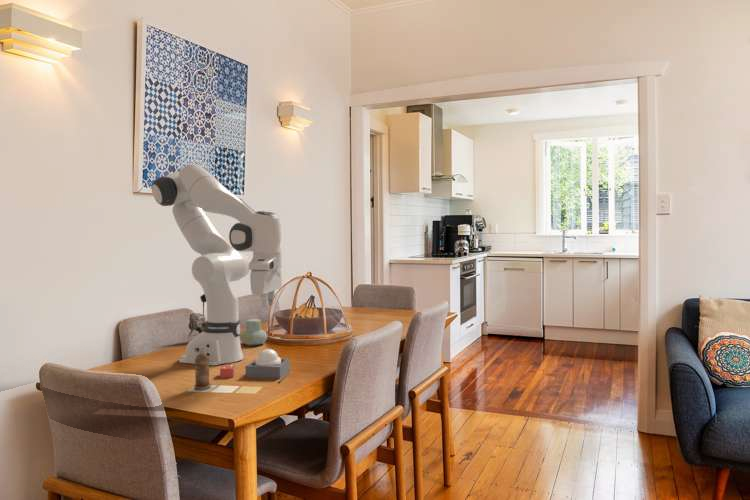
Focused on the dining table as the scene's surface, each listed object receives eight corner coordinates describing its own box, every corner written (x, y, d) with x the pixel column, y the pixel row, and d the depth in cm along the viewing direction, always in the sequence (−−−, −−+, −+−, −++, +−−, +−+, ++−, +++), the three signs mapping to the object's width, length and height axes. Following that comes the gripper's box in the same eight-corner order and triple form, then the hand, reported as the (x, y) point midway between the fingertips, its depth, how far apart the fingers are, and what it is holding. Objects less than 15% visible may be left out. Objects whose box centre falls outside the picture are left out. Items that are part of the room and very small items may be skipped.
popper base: (245, 381, 176) (245, 366, 176) (257, 372, 187) (257, 357, 187) (280, 383, 175) (279, 367, 174) (289, 373, 186) (289, 358, 185)
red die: (220, 381, 176) (220, 367, 176) (221, 378, 180) (221, 364, 180) (233, 381, 177) (233, 367, 176) (234, 377, 181) (234, 364, 180)
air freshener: (270, 343, 234) (270, 319, 233) (258, 347, 226) (258, 322, 226) (249, 341, 238) (249, 317, 238) (236, 345, 231) (236, 320, 230)
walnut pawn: (191, 390, 163) (190, 355, 162) (198, 385, 167) (197, 351, 167) (206, 390, 162) (206, 355, 162) (213, 386, 167) (212, 352, 166)
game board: (184, 396, 161) (184, 392, 161) (197, 387, 170) (197, 383, 170) (255, 399, 158) (255, 394, 158) (265, 390, 167) (265, 385, 167)
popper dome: (251, 371, 177) (251, 351, 177) (260, 365, 185) (260, 346, 185) (276, 372, 176) (276, 352, 176) (284, 366, 184) (283, 346, 184)
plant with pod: (186, 340, 240) (185, 293, 239) (213, 338, 244) (213, 292, 243) (188, 344, 232) (187, 295, 231) (216, 342, 237) (215, 294, 236)
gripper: (267, 260, 190) (268, 301, 191) (246, 264, 170) (247, 310, 170) (286, 260, 189) (286, 301, 190) (266, 264, 169) (267, 310, 169)
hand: (267, 305), depth 180 cm, fingers open, 3 cm apart
